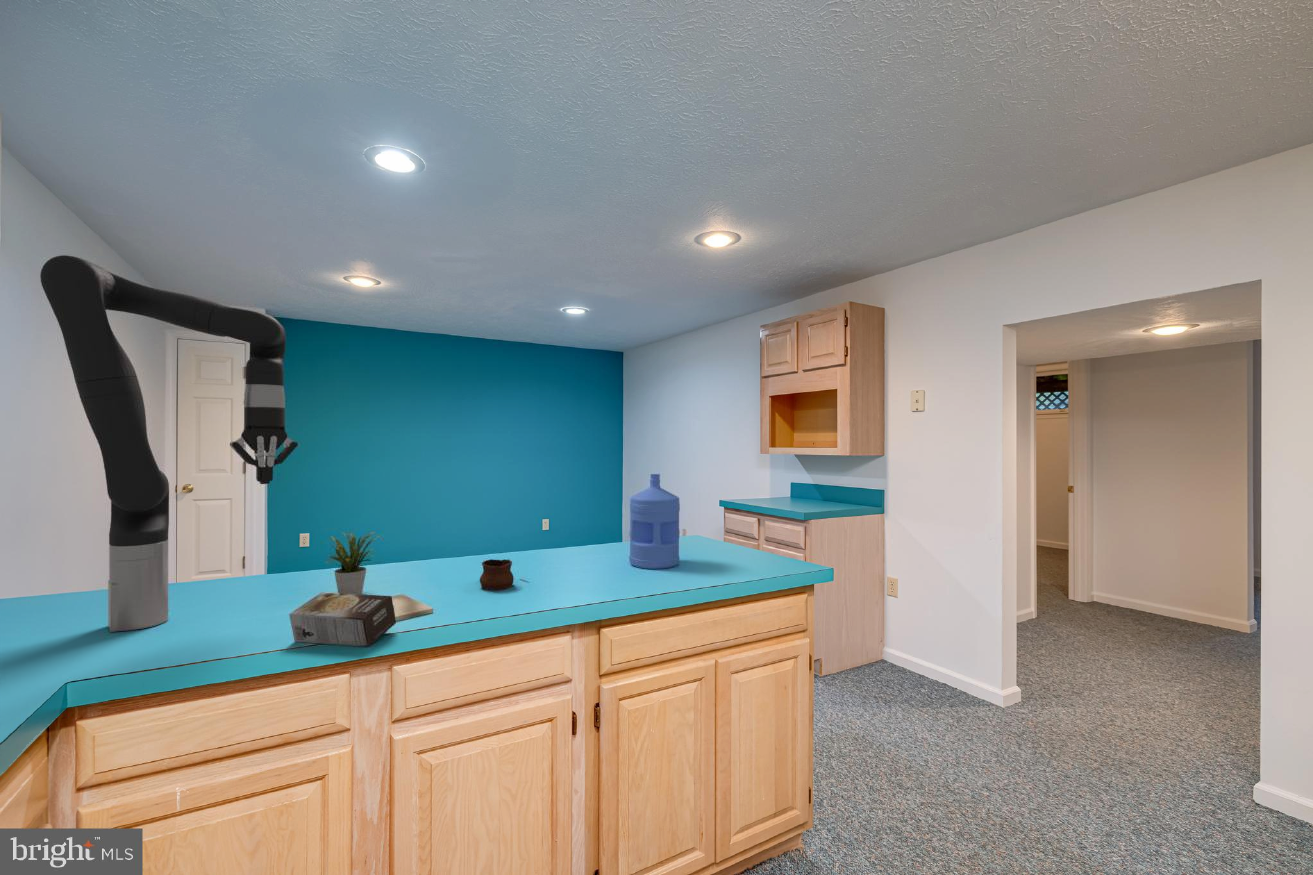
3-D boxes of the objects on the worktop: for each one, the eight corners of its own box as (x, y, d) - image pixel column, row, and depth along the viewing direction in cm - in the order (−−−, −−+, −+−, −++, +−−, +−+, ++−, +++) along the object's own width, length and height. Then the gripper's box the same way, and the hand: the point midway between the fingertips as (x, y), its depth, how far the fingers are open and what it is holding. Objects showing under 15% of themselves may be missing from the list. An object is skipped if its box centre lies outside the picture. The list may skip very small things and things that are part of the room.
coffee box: (321, 590, 118) (393, 593, 116) (326, 618, 120) (397, 622, 118) (287, 613, 110) (364, 618, 107) (293, 643, 111) (369, 648, 109)
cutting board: (341, 633, 116) (341, 628, 116) (316, 615, 127) (316, 611, 127) (433, 612, 130) (433, 608, 130) (403, 598, 141) (403, 594, 141)
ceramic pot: (516, 575, 164) (515, 550, 164) (542, 590, 150) (542, 563, 150) (452, 586, 154) (451, 560, 154) (473, 603, 139) (473, 574, 139)
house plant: (394, 585, 152) (394, 523, 152) (378, 600, 139) (378, 533, 138) (336, 587, 150) (336, 524, 150) (314, 603, 136) (314, 534, 136)
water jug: (627, 558, 187) (628, 472, 186) (675, 557, 188) (676, 472, 188) (630, 570, 171) (631, 476, 171) (682, 569, 173) (683, 476, 172)
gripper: (232, 404, 120) (232, 486, 121) (303, 406, 130) (303, 483, 130) (224, 405, 126) (224, 484, 126) (293, 407, 135) (293, 481, 135)
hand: (264, 483), depth 128 cm, fingers closed
